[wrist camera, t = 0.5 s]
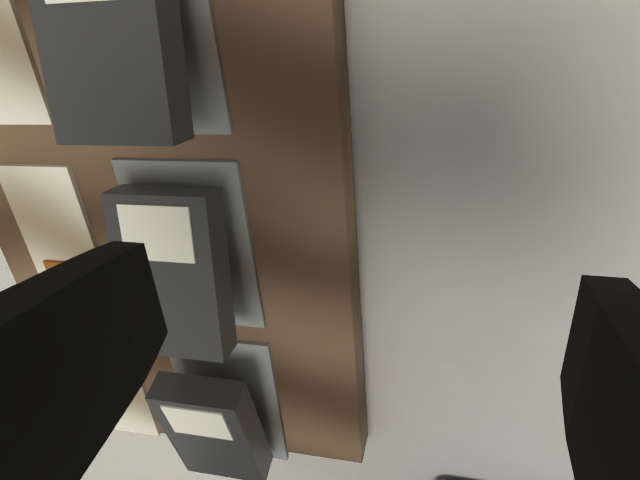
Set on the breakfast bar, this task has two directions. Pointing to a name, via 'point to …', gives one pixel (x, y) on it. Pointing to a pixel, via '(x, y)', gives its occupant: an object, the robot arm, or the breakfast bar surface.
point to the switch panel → (238, 199)
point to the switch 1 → (114, 71)
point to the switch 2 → (211, 424)
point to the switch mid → (181, 261)
